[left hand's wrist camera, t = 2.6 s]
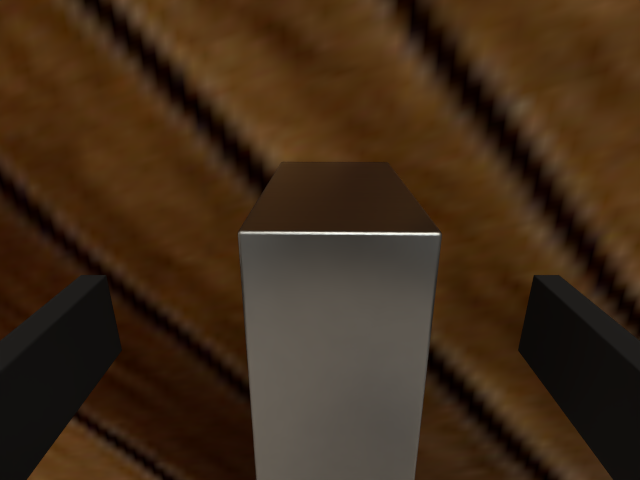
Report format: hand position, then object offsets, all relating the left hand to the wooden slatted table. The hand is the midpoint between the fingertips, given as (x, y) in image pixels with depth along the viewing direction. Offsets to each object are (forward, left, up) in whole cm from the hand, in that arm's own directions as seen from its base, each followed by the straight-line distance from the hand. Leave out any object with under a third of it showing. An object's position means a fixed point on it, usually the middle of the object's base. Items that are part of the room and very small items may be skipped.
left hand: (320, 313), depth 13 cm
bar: (-6, +6, -6) cm, 10 cm away
